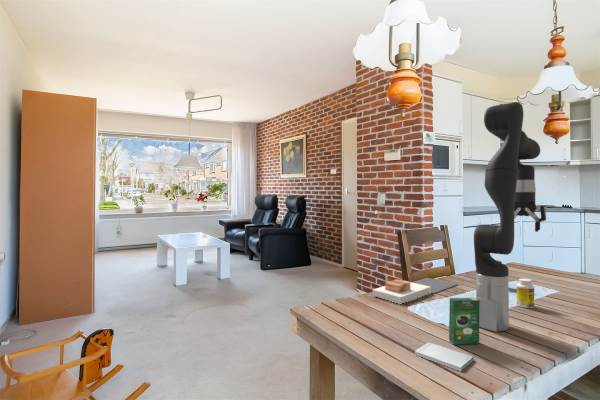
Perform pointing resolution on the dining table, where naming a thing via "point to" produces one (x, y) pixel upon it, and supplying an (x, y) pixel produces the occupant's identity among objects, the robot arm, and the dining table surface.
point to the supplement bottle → (525, 293)
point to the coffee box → (464, 321)
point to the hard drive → (444, 356)
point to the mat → (435, 284)
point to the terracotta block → (397, 286)
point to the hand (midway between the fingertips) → (524, 230)
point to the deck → (403, 293)
